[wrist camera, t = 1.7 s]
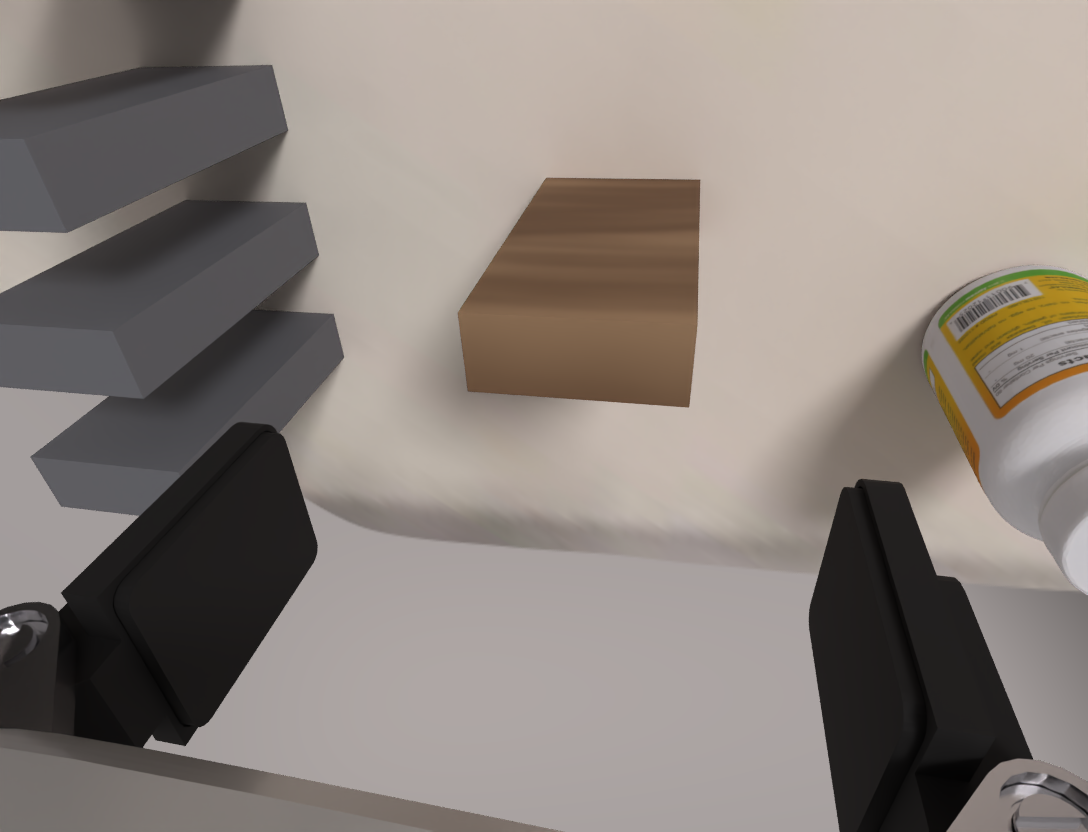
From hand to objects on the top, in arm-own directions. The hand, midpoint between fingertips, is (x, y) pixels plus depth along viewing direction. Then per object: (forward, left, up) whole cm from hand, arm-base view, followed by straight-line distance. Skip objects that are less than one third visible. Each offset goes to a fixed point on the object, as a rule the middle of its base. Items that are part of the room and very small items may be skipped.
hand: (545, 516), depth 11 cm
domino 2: (0, -14, -14) cm, 20 cm away
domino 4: (-1, 0, -14) cm, 14 cm away
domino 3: (+5, -14, -14) cm, 21 cm away
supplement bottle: (+3, +13, -14) cm, 20 cm away
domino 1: (-4, -14, -14) cm, 20 cm away
